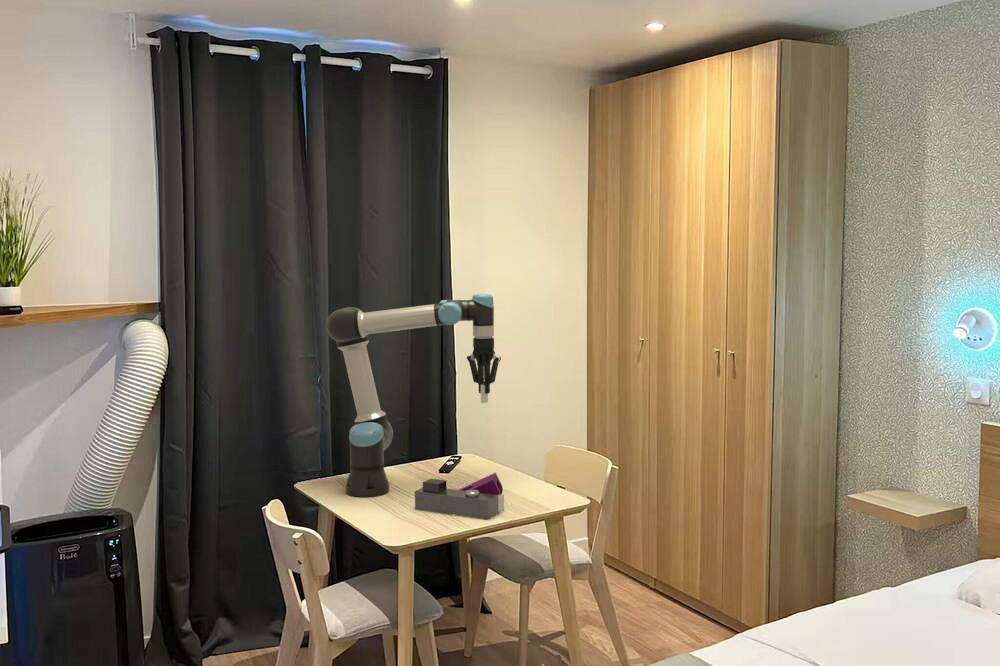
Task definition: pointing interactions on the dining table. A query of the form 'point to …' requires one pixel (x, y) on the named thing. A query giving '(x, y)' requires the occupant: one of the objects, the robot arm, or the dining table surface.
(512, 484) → the dining table surface
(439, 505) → the block
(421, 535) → the dining table surface
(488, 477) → the mounting bracket
